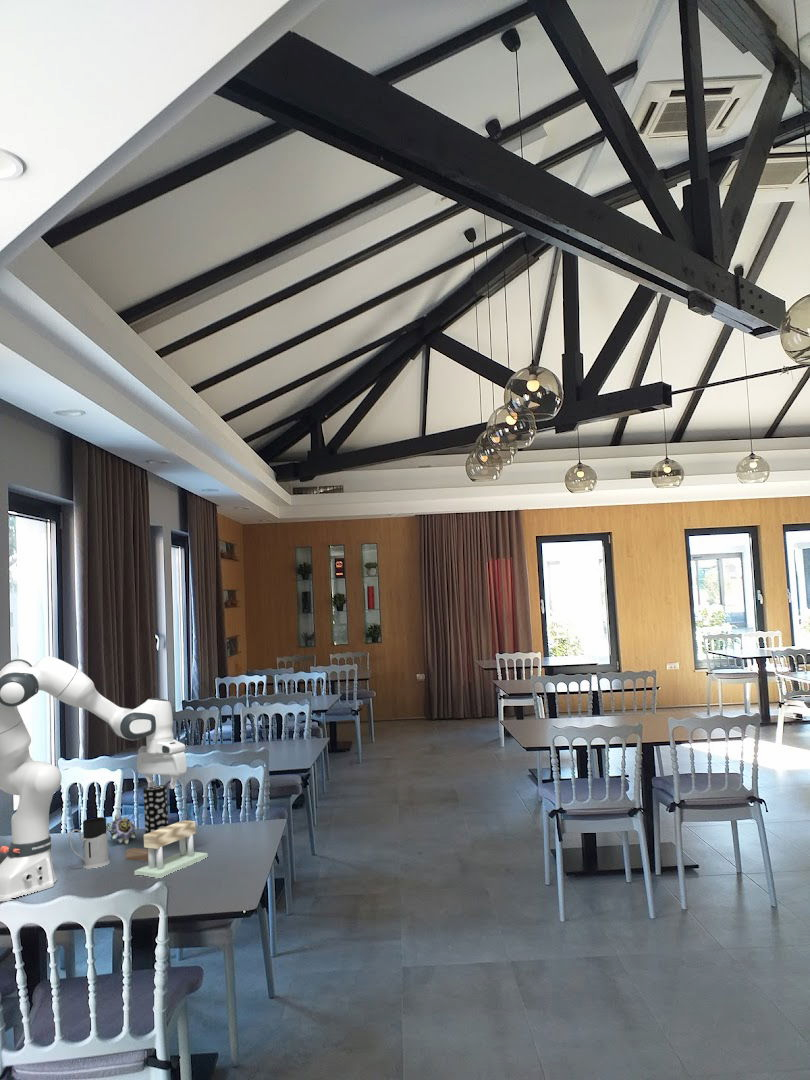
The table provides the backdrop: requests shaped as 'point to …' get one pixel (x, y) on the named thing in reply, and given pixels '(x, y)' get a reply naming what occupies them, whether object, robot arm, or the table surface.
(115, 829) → the passion flower
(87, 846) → the electric kettle
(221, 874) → the table surface
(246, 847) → the table surface
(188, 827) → the plank
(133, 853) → the riser
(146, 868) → the peg stand
